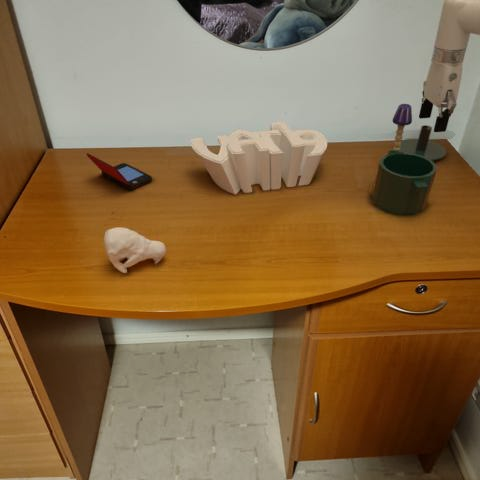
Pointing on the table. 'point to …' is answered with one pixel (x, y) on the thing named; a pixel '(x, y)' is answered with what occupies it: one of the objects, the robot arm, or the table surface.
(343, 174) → the table surface
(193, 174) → the table surface
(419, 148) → the lid
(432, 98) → the robot arm
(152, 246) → the beige lumpy figure
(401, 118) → the toy lamp
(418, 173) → the pot
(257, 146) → the wavy white extrusion
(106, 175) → the handheld console
